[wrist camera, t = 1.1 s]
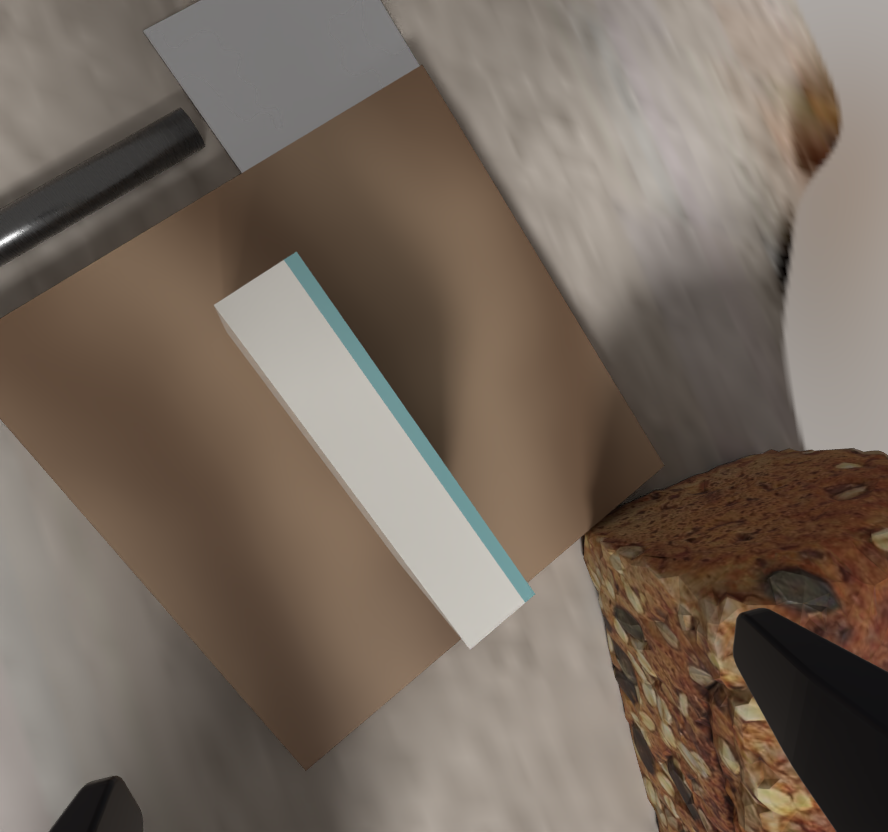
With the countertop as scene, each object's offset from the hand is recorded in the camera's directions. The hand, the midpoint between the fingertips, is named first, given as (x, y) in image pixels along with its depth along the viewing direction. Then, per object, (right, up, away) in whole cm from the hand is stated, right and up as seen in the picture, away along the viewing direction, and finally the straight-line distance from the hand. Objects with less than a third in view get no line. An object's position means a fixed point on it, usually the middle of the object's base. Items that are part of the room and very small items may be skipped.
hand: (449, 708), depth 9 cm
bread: (+11, -7, +18) cm, 22 cm away
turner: (-9, +12, +10) cm, 18 cm away
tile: (-3, +4, +11) cm, 12 cm away
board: (-3, +4, +12) cm, 13 cm away
